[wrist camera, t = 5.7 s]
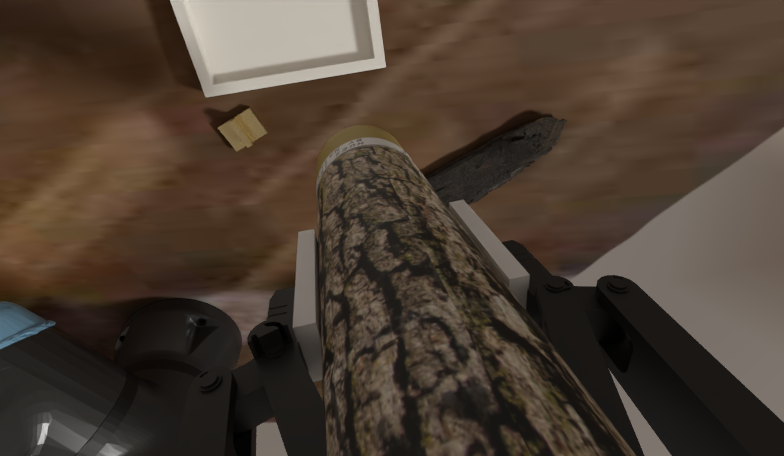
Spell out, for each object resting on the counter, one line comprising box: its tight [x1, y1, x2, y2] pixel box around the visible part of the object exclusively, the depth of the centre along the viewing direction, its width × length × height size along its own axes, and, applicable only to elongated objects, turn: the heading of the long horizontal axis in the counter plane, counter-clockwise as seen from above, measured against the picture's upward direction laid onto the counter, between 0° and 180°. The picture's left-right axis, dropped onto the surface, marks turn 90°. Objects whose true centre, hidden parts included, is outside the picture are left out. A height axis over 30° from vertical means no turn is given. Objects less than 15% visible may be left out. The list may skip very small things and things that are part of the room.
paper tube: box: [316, 125, 636, 456], centre depth 17 cm, size 7×7×25 cm
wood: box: [424, 117, 567, 208], centre depth 47 cm, size 22×7×3 cm, turn 116°
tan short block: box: [218, 107, 268, 151], centre depth 39 cm, size 4×3×3 cm
